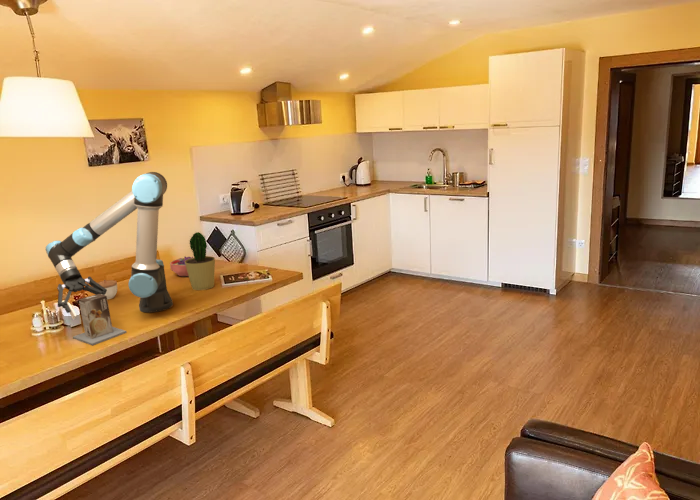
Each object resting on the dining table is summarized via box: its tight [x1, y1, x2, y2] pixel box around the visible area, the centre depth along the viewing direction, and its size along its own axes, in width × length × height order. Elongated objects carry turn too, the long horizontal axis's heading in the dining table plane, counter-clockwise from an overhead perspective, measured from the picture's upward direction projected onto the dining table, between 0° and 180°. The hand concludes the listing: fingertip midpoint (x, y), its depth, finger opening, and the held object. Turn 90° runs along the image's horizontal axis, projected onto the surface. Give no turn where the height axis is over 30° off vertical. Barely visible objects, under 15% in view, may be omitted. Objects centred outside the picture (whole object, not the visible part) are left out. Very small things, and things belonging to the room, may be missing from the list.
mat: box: [72, 326, 127, 346], centre depth 227 cm, size 15×15×1 cm
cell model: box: [169, 256, 194, 277], centre depth 312 cm, size 17×20×11 cm
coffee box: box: [78, 294, 113, 339], centre depth 225 cm, size 9×6×16 cm
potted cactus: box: [185, 231, 216, 291], centre depth 285 cm, size 15×15×30 cm
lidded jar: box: [97, 279, 118, 300], centre depth 278 cm, size 11×11×9 cm
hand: (91, 312), depth 227 cm, fingers open, 13 cm apart
